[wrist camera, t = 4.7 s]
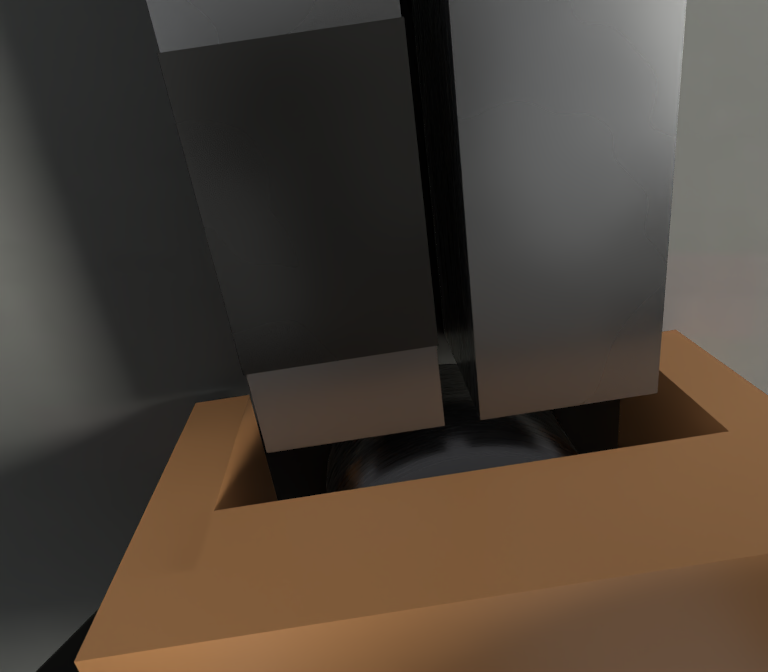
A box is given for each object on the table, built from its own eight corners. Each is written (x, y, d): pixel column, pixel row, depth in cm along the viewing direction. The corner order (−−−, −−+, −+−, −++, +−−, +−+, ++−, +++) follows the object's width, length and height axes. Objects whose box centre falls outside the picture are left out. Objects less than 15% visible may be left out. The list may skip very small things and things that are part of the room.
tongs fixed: (574, 540, 10) (636, 662, 8) (347, 575, 10) (349, 708, 8) (580, -562, 5) (765, -1072, 3) (111, -498, 5) (-70, -965, 3)
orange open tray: (658, 534, 10) (849, 802, 6) (257, 596, 10) (205, 905, 6) (675, 329, 8) (950, 524, 5) (195, 402, 8) (73, 662, 4)
